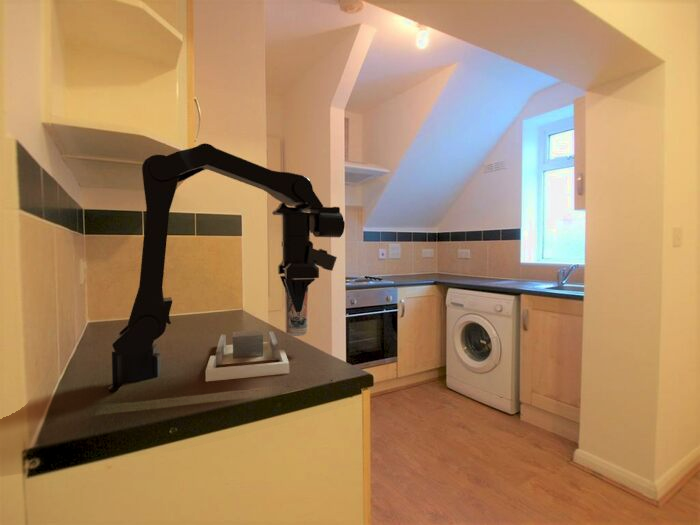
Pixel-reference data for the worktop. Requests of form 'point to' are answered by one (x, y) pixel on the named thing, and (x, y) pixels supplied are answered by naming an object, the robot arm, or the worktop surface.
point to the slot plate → (226, 357)
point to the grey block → (247, 344)
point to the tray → (246, 369)
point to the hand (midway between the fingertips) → (296, 309)
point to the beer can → (296, 316)
